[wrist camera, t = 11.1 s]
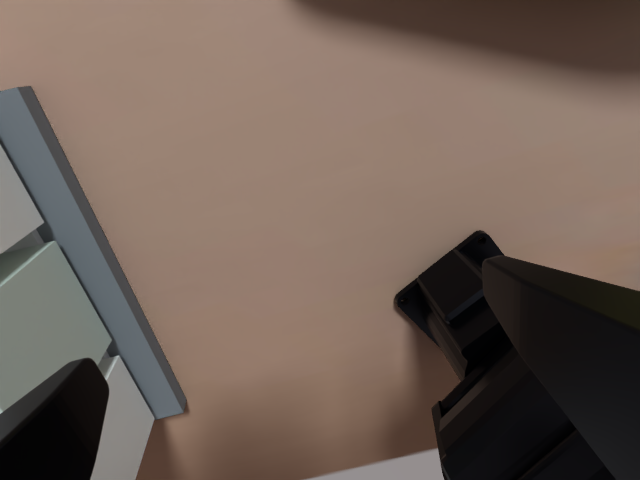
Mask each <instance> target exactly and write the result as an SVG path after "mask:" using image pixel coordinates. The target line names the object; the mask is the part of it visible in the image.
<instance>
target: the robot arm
mask: <svg viewBox="0 0 640 480" xmlns="http://www.w3.org/2000/svg"><path fill="white" fill-rule="evenodd" d="M481 237H483V238H482V240H481V241H480V242H478V240H479V238H481ZM404 298H407V299H406V300H405V301H401V300H402V299H404ZM395 301H396V303H397V305H398V307H399V308H400V309H401V310H402V311H403V312H404V313H405V314H406V315H407V316H408V317H409V318H410V319H412V320H413V321H414V322H415V323H416V324H417V325H418V326H419V327H420V328H421V329H422V330H423V331H424V332H425V333H426V334H427V335H428V336H429V337H430V338H431V339H432V340H433V341H434V342H435V343H436V344H437V345H438V346H439V347H440V348H441V349H442V351H443V353H444V354H445V356H446V358H447V359H448V361H449V363H450V364H451V366H452V368H453V369H454V371H455V373H456V374H457V376H458V378H459V379H460V381H461V382H460V383H459V384H458V385H457V386H456V387H455V388H454V389H453V390H452V391H451V392H450V393H449V394H448V395H447V396H446V397H445V398H444V399H443V400H442V401H438V402H437V403H436V404H435V405H434V406H433V407H432V415H433V421H434V426H435V432H436V438H437V444H438V450H439V455H440V461H441V468H442V473H443V477H444V480H640V291H636V290H633V289H629V288H625V287H621V286H617V285H614V284H610V283H606V282H602V281H598V280H594V279H591V278H587V277H583V276H579V275H575V274H572V273H568V272H564V271H560V270H556V269H553V268H549V267H545V266H541V265H537V264H534V263H530V262H526V261H522V260H518V259H515V258H511V257H507V256H504V254H503V253H502V252H501V250H500V249H499V248H498V247H497V245H496V244H495V243H494V241H493V240H492V239H491V237H490V236H489V235H488V234H486V233H485V232H484V231H481V230H479V231H476V232H474V233H473V234H472V235H470V236H469V237H468V238H467V239H465V240H464V241H463V242H462V243H460V244H459V245H458V246H457V247H455V248H454V249H453V250H451V251H449V252H448V253H447V254H446V255H444V256H443V257H442V258H441V259H439V260H438V261H437V262H436V263H434V264H433V265H432V266H431V267H429V268H428V269H427V270H426V271H424V272H423V273H422V274H421V275H419V276H418V278H416V279H415V280H414V281H412V282H411V283H410V284H409V285H407V286H406V287H405V288H404V289H402V290H401V291H400V292H399V293H398V294H397V295H396V297H395ZM108 399H109V386H108V383H107V381H106V379H105V378H104V376H103V374H102V373H101V371H100V369H99V368H98V366H97V364H96V363H95V361H94V360H93V359H91V358H88V357H87V358H82V359H78V360H74V361H71V362H69V363H67V364H66V365H65V366H63V367H62V368H61V369H59V370H58V371H57V372H55V373H54V374H53V375H51V376H50V377H49V378H47V379H46V380H45V381H43V382H42V383H41V384H39V385H38V386H37V387H35V388H34V389H33V390H31V391H30V392H29V393H27V394H26V395H25V396H23V397H22V398H21V399H19V400H18V401H17V402H15V403H14V404H13V405H11V406H10V407H9V408H7V409H6V410H5V411H3V412H2V413H1V414H0V480H90V479H91V476H92V472H93V469H94V465H95V462H96V457H97V453H98V449H99V444H100V439H101V434H102V429H103V424H104V419H105V414H106V409H107V404H108Z"/></svg>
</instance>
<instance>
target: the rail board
mask: <svg viewBox="0 0 640 480" xmlns="http://www.w3.org/2000/svg"><path fill="white" fill-rule="evenodd" d="M51 241H56V242H57V244H58V246H59V248H60V249H61V251H62V253H63V255H64V256H65V258H66V260H67V262H68V263H69V265H70V267H71V269H72V271H73V272H74V274H75V276H76V278H77V279H78V281H79V283H80V285H81V286H82V288H83V290H84V292H85V293H86V295H87V297H88V299H89V301H90V302H91V304H92V306H93V308H94V309H95V311H96V313H97V315H98V316H99V318H100V320H101V322H102V323H103V325H104V327H105V329H106V331H107V332H108V334H109V336H110V338H111V339H112V341H111V342H110V344H109V346H108V348H107V350H106V351H105V353H104V355H103V357H102V359H101V360H100V362H99V364H98V368H99V369H100V371H101V373H102V374H103V376H104V378H105V379H106V381H107V383H108V386H109V399H108V404H107V409H106V414H105V419H104V424H103V429H102V434H101V439H100V444H99V449H98V453H97V457H96V462H95V465H94V469H93V472H92V476H91V479H90V480H136V476H137V473H138V470H139V467H140V464H141V460H142V457H143V454H144V451H145V448H146V445H147V441H148V438H149V435H150V432H151V429H152V425H153V422H154V420H157V419H161V418H165V417H168V416H172V415H176V414H180V413H184V409H185V404H186V398H185V396H184V394H183V392H182V390H181V388H180V386H179V384H178V382H177V380H176V378H175V376H174V374H173V372H172V370H171V368H170V366H169V364H168V362H167V360H166V358H165V355H164V353H163V351H162V349H161V347H160V345H159V343H158V341H157V339H156V337H155V335H154V333H153V331H152V329H151V327H150V325H149V323H148V321H147V319H146V317H145V315H144V313H143V311H142V309H141V307H140V305H139V303H138V301H137V299H136V297H135V295H134V293H133V291H132V289H131V287H130V285H129V283H128V281H127V279H126V277H125V275H124V273H123V271H122V269H121V267H120V265H119V263H118V261H117V259H116V257H115V255H114V253H113V251H112V249H111V247H110V245H109V243H108V241H107V239H106V237H105V235H104V233H103V231H102V229H101V227H100V225H99V223H98V221H97V219H96V217H95V215H94V213H93V211H92V209H91V207H90V205H89V202H88V200H87V198H86V196H85V194H84V192H83V190H82V188H81V186H80V184H79V182H78V180H77V178H76V176H75V174H74V172H73V170H72V168H71V166H70V164H69V162H68V160H67V158H66V156H65V154H64V152H63V150H62V148H61V146H60V144H59V142H58V140H57V138H56V136H55V134H54V132H53V130H52V128H51V126H50V124H49V122H48V120H47V118H46V116H45V114H44V112H43V110H42V108H41V106H40V104H39V102H38V100H37V98H36V96H35V94H34V92H33V90H32V88H31V86H26V87H17V88H13V89H8V90H4V91H0V254H2V253H6V252H10V251H15V250H19V249H23V248H27V247H31V246H35V245H39V244H43V243H47V242H51Z"/></svg>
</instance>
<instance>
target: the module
mask: <svg viewBox="0 0 640 480" xmlns="http://www.w3.org/2000/svg"><path fill="white" fill-rule="evenodd" d="M111 341H112V339H111V338H110V336H109V334H108V332H107V331H106V329H105V327H104V325H103V323H102V322H101V320H100V318H99V316H98V315H97V313H96V311H95V309H94V308H93V306H92V304H91V302H90V301H89V299H88V297H87V295H86V293H85V292H84V290H83V288H82V286H81V285H80V283H79V281H78V279H77V278H76V276H75V274H74V272H73V271H72V269H71V267H70V265H69V263H68V262H67V260H66V258H65V256H64V255H63V253H62V251H61V249H60V248H59V246H58V244H57V242H56V241H51V242H47V243H43V244H39V245H35V246H31V247H27V248H23V249H19V250H15V251H10V252H6V253H2V254H0V414H1V413H2V412H3V411H5V410H6V409H7V408H9V407H10V406H11V405H13V404H14V403H15V402H17V401H18V400H19V399H21V398H22V397H23V396H25V395H26V394H27V393H29V392H30V391H31V390H33V389H34V388H35V387H37V386H38V385H39V384H41V383H42V382H43V381H45V380H46V379H47V378H49V377H50V376H51V375H53V374H54V373H55V372H57V371H58V370H59V369H61V368H62V367H63V366H65V365H66V364H67V363H69V362H71V361H74V360H78V359H82V358H87V357H88V358H91V359H93V360H94V361H95V363H96V364H97V366H98V364H99V362H100V360H101V359H102V357H103V355H104V353H105V351H106V350H107V348H108V346H109V344H110V342H111Z"/></svg>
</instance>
